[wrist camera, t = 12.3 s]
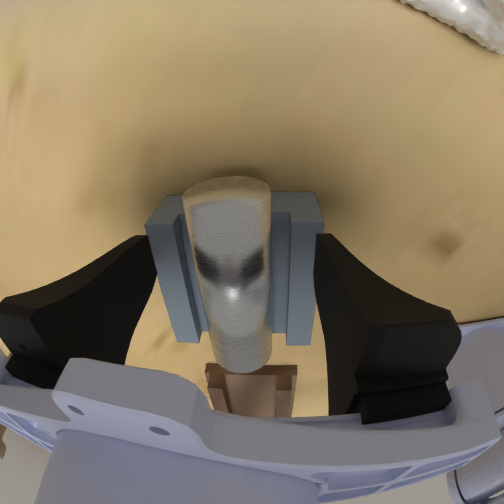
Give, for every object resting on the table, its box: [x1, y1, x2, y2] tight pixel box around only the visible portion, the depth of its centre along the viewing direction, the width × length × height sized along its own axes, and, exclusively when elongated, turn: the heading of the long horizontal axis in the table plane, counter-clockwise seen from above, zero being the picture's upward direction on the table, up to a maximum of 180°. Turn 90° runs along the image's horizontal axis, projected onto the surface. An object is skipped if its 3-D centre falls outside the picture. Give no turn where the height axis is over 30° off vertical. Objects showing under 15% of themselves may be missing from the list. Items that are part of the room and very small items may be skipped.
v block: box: [145, 192, 324, 345], centre depth 16 cm, size 8×8×4 cm
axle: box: [182, 176, 272, 373], centre depth 14 cm, size 10×4×4 cm, turn 2°
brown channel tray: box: [205, 364, 297, 417], centre depth 25 cm, size 8×10×2 cm
